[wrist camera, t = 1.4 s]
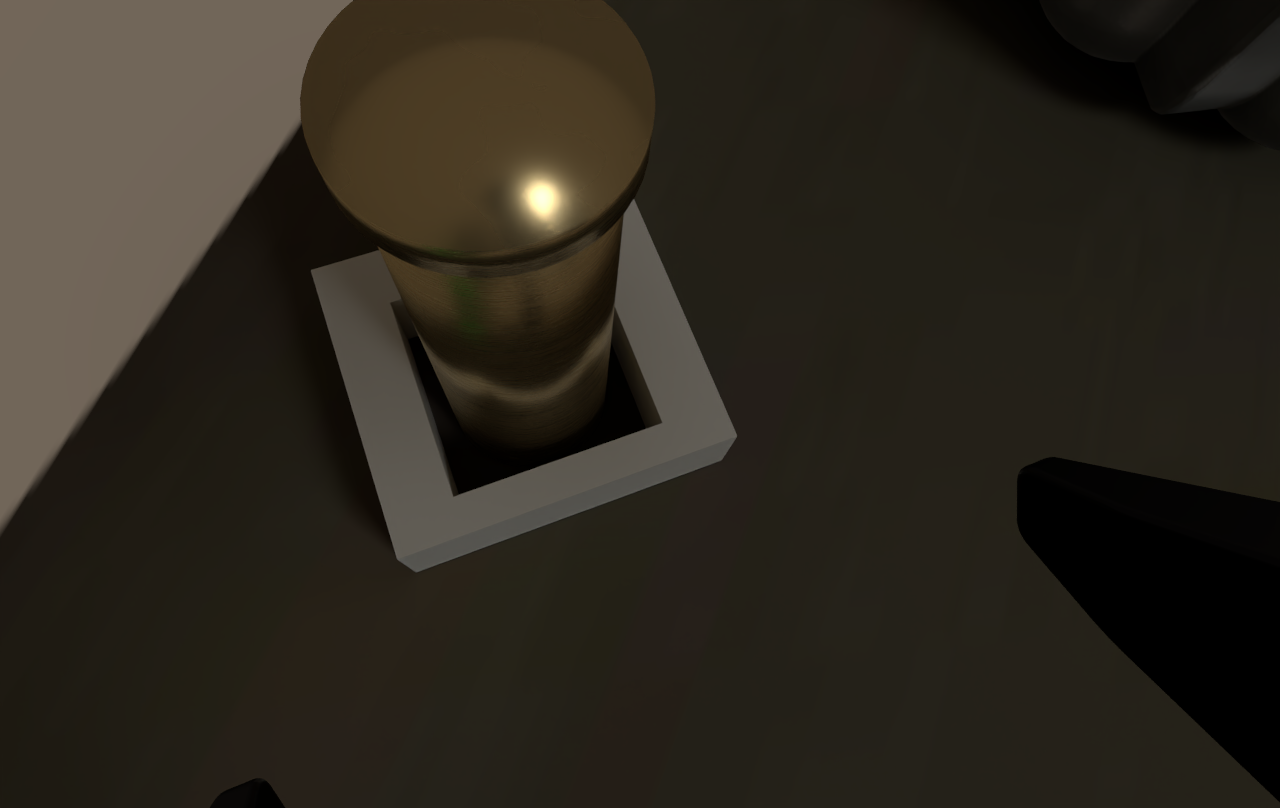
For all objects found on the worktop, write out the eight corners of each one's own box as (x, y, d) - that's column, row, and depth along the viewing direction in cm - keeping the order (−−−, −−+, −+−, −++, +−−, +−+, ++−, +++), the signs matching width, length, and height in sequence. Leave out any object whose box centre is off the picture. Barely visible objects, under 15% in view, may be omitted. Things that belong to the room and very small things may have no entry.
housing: (721, 460, 24) (737, 436, 22) (416, 572, 22) (397, 559, 20) (620, 223, 26) (624, 177, 24) (336, 309, 24) (310, 270, 22)
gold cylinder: (637, 345, 25) (696, 16, 13) (583, 500, 23) (590, 298, 11) (480, 293, 25) (387, -81, 13) (415, 445, 23) (237, 184, 11)
